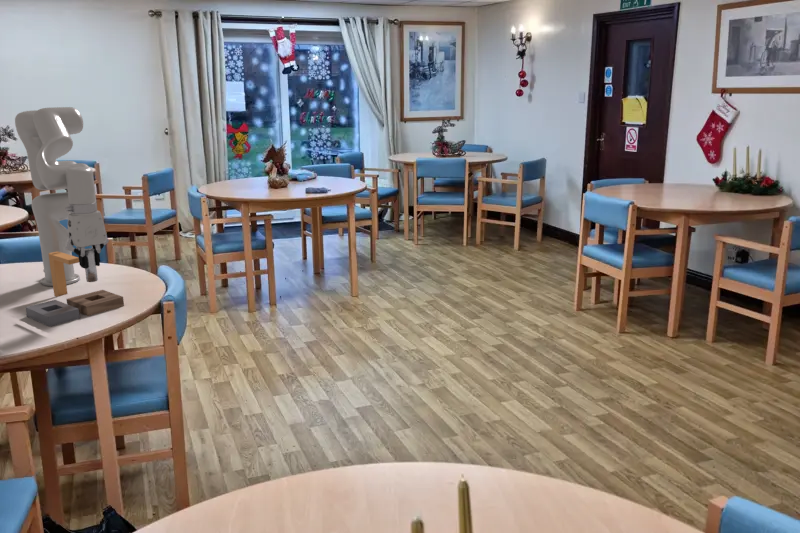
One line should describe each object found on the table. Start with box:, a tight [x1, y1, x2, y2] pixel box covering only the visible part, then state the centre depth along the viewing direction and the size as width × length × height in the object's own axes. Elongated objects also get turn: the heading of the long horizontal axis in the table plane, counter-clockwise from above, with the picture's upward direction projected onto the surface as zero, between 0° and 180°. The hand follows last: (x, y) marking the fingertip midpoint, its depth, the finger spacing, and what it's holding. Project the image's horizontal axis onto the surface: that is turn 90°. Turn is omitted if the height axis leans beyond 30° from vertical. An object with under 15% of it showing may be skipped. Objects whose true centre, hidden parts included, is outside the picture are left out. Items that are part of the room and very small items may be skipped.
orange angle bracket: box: [48, 252, 79, 298], centre depth 222 cm, size 14×4×15 cm, turn 53°
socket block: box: [66, 289, 125, 317], centre depth 214 cm, size 12×12×4 cm
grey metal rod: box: [84, 247, 99, 283], centre depth 211 cm, size 3×3×10 cm
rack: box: [25, 299, 81, 328], centre depth 205 cm, size 14×9×4 cm, turn 53°
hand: (90, 265), depth 211 cm, fingers closed on grey metal rod, 3 cm apart
